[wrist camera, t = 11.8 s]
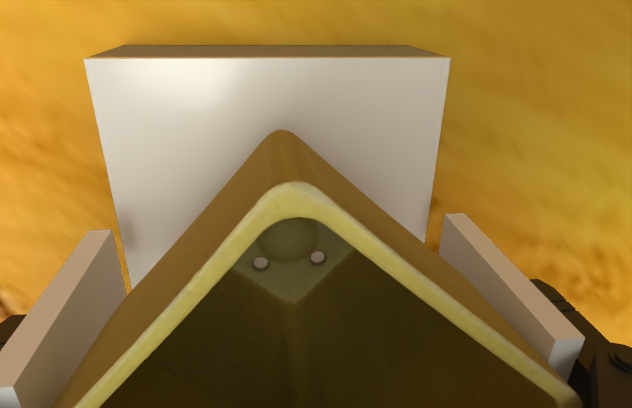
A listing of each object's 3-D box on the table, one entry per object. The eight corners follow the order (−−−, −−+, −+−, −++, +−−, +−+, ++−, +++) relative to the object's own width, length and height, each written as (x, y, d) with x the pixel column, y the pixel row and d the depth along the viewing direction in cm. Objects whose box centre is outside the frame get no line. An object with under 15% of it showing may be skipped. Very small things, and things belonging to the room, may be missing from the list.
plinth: (124, 44, 19) (83, 58, 14) (408, 45, 20) (450, 58, 16) (165, 285, 24) (144, 350, 20) (385, 272, 26) (412, 328, 22)
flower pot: (295, 353, 19) (322, 603, 11) (122, 251, 16) (-12, 501, 8) (437, 219, 17) (596, 409, 9) (271, 71, 14) (290, 166, 6)
